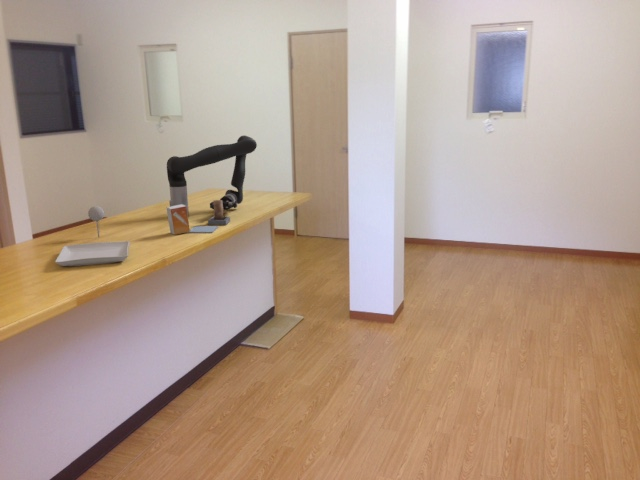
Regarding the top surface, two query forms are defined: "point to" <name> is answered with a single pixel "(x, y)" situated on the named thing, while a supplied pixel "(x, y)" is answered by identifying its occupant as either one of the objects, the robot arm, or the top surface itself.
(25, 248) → the top surface
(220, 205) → the plug
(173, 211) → the small box
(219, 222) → the socket
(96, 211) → the lollipop
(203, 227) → the mat
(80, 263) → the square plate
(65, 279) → the top surface
